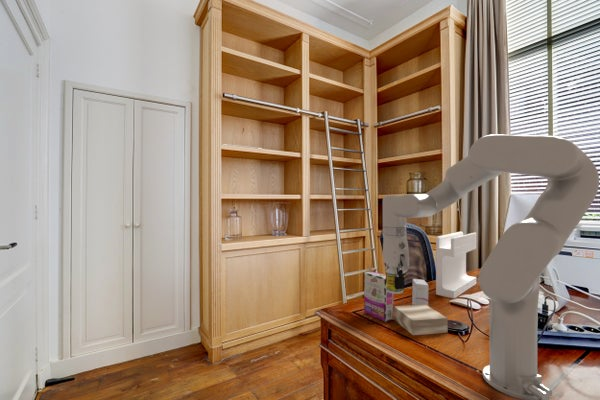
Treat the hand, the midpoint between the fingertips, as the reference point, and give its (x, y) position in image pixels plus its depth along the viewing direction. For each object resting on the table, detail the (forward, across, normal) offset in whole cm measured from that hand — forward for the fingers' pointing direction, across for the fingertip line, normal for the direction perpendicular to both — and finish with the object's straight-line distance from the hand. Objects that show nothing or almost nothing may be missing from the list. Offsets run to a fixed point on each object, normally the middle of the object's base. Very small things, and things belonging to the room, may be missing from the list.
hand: (394, 285), depth 96 cm
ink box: (+17, +20, -22) cm, 34 cm away
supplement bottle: (+2, 0, 0) cm, 2 cm away
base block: (+17, +6, -13) cm, 22 cm away
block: (+17, +44, -58) cm, 74 cm away
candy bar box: (+17, +17, -2) cm, 24 cm away
